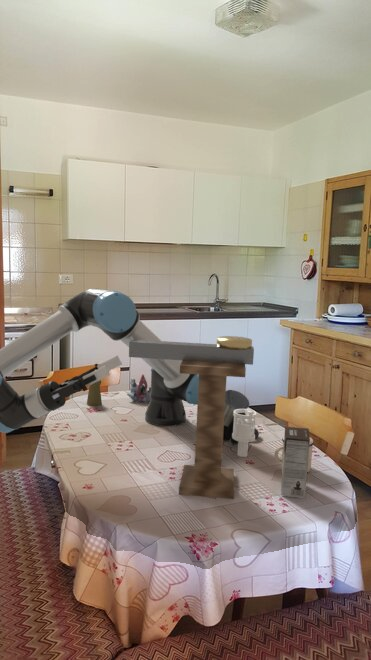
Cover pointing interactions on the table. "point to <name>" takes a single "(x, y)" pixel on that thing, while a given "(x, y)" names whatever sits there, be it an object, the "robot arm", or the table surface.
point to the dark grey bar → (196, 350)
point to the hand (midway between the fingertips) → (113, 364)
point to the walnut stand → (209, 431)
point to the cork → (94, 394)
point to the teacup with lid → (282, 453)
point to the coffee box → (295, 462)
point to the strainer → (243, 429)
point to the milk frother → (232, 403)
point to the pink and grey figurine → (140, 390)
